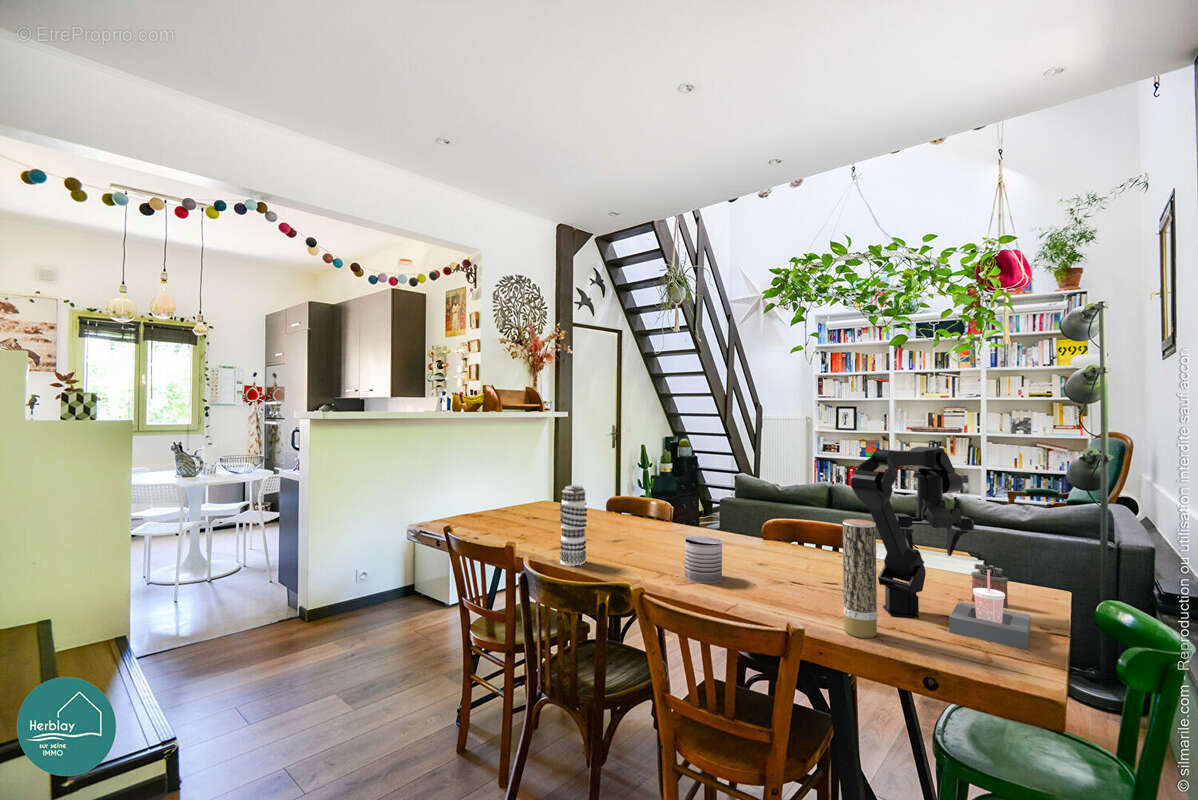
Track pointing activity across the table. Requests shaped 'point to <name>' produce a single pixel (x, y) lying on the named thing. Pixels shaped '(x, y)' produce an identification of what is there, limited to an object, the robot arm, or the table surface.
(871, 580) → the paper tube
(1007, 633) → the hole block
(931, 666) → the table surface
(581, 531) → the decorative candle
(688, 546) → the can
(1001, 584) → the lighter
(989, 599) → the beverage cup
